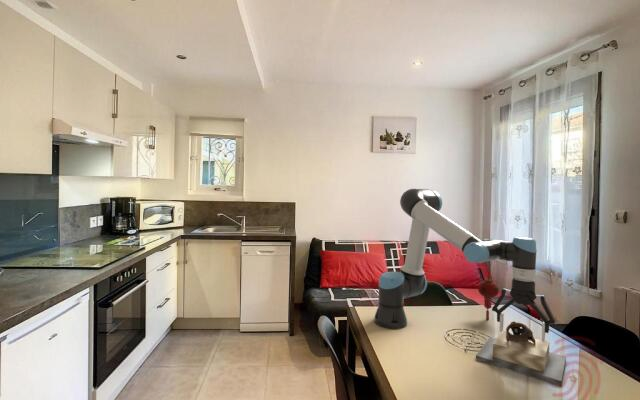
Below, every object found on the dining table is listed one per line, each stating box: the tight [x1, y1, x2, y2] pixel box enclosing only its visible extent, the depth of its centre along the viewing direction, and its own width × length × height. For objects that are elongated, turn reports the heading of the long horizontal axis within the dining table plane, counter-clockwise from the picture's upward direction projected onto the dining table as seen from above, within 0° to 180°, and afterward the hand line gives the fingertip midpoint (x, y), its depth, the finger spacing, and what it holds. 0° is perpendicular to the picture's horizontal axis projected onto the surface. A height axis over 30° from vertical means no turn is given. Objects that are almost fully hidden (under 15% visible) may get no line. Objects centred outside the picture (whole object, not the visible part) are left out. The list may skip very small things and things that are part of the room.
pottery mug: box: [505, 321, 536, 345], centre depth 127 cm, size 12×10×8 cm
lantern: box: [477, 272, 500, 321], centre depth 167 cm, size 10×10×30 cm
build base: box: [475, 330, 567, 386], centre depth 126 cm, size 26×22×6 cm
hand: (521, 335), depth 126 cm, fingers open, 13 cm apart
